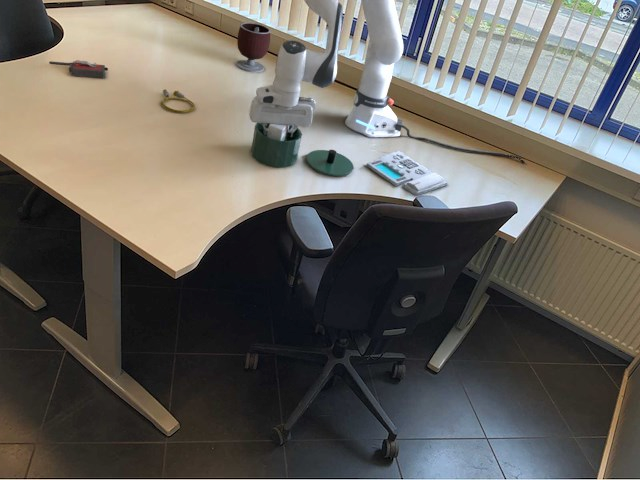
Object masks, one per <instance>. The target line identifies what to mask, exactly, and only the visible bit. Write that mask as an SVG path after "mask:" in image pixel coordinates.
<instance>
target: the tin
mask: <svg viewBox="0 0 640 480" xmlns="http://www.w3.org/2000/svg"><path fill="white" fill-rule="evenodd" d="M269 125H270V124H269V123H267V126H265V127H266V128H268V127H269ZM292 127H293V126H292V125H289V129H288V130H290V129H291V128H292ZM263 132H264V128H263V125H262V123H257V122H256V123H255V125H254V129H253V136H252V142H251V147H250V148H251V149H250V153H251V156H252V158H253V159H254V160H255V161H257V162H258V163H259V164H262V165H264V166H266V167H271V168H277V169H283V168H285V169H286V168H289V167H290V168H291V167H292V166H293V165H295V164H296V163H297V159H298V156H299V152H300V151H299V150H300V147H301V142H302V136H303V133H302V131H301V129H300V128H297V129H296V131H295V132H294V133H293V136H292V137H288V136H287V140H286V141H282V140H276V139H272V138H269V137H267V135H264V133H263Z"/></svg>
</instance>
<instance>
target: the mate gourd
mask: <svg viewBox="0 0 640 480" xmlns="http://www.w3.org/2000/svg"><path fill="white" fill-rule="evenodd" d="M236 44H237V50H238V52H239V53H240V55H242V56H243V57H245V58H246V59H240V60H239V59H238V60H237V61H236V63H235V65H236V67H237V68H238V69H240V70H243V71H245V72H249V73H250V72H251V73H261V72H263V71H264V69H265V67H264V65H263V64H261V63H259V62H257V61H255V60H260V59H261V60H262V59H263V58H264V57H265V56H266V55H267V53H268V52H269V48H270V44H271V29H270V28H269V27H267V26H266V25H263V24H260V23H256V22H242V23H240V26H239V29H238V33H237V43H236Z"/></svg>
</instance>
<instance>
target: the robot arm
mask: <svg viewBox="0 0 640 480" xmlns="http://www.w3.org/2000/svg"><path fill="white" fill-rule="evenodd" d="M303 1H304V3H305V4H306V5H307V7H308V8H309V9H310V10H311V11H312V12H313V13H315V14H316V15H317V16H319V17H320V18H321V19H322V20H323V21H324V22H325V23H326V25H327V29H328V30H327V34H326V35H327V36H326V43H325V49H324V52H320V51H319V52H318V51H315V50H312V49H309V48H307V47H306V45H305V44H304V43H303V42H301V41H299V40H298V41H297V40H290V39H289V40H286V41H284V42H282V44H281V46H280V48H279V51H278V54H277V56H276V61H275V67H274V78H273V81H272V84H270V85H266V86H260V87H258V88H256V90H255V95H256V96H254V97H253V98H252V100H251V103H250V107H249V112H248V118H249V120H250V121H251V122H252V123H256V124H257V123H262V125H263V128H264V132H263V133H264V135H267V133H268V128H266V127H265V126H267V123H269V124H282V125H292V126H293V127H292V128H291V129H290V130H288V131H287V132H288V133H287V136H288V137H292V136H293V133H294V132H295V131H296V129H297V128H298V127H305V128H306V127H307V128H309V127H310V126H311V125H312V123H313V115H314V113H313V112H314V110H315V109H316V108H315V107H316V101H315V100H314V99H313V98H312V97H303V96H302V97H301V90H302V82H306V83H309V84H311V85H313V86H315V87H318V88H321V89H325V88H327V87H329V86H331V85H333V84H334V82H335V80H336V79H337V74H338V56H339V49H340V42H341V34H342V26H343V13H344V12H343V5H342V4H341V3H340V2H339V0H303ZM360 1H361V7H362V10H363V14H364V15H363V16H364V19H365V24H366V28H367V33H368V37H369V38H368V44H367V48H366V53H365V59H364V64H363V69H362V73H361V76H360V81H359V85H358V87H357V88H356V91H355V94H354V98H353V104H352V107H351V109H350V111H349V113H348V116H347V118H346V119H345V121H344V123H345V125H346V126H347V127H348V129H351V130H353V131H354V132H356V133H360V134H362V135H364V136H366V137H368V138H392V137H400V136H401V131H402V128H403V129H404V130H405V131H406V135H407V136H408V137H409V138H411V139H415V140H417V141H425V142H429V143H432V144H435V145H439V146H442V147H445V148H450V149H454V150H458V151H464V152H469V153H470V152H471V153H478V154H487V155H494V156H502V157H506V158H507V157H508V158H513V159H518V158H519V159H518V160H519V161H520V162H521V163H522V164H526V161H525V160H524V159H523V158H522V157H521V156H518V155H514V154H508V153H505V152H504V153H503V152H496V151H489V150H479V149H471V148H466V147H460V146H454V145H450V144H447V143H443V142H440V141H437V140H433V139H430V138H427V137H420V136H414V135H411V133H410V129H409V128H408V127H407V126H406V125H404V124H403V120H402V119H399V118H398V117H397V115H396V114H395V112H394V111H393V109H392V108H391V107H390V106H393V105H394V103H395V101H394V100H393V99H392V98H390V96H389V95H387V94H388V91H389V89H390V84H391V81H392V77H393V70H394V67H395V64H396V63H398V62H399V61H400V59H401V58H402V55H403V53H404V41H403V36H402V31H401V30H402V29H401V27H400V21H399V16H398V11H397V8H396V1H395V0H360ZM298 129H299V128H298ZM505 154H507V155H505ZM509 155H510V156H509ZM512 156H513V157H512ZM515 157H516V158H515ZM520 159H523V160H524V161H523V160H520Z"/></svg>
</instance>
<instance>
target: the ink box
mask: <svg viewBox="0 0 640 480" xmlns="http://www.w3.org/2000/svg"><path fill="white" fill-rule="evenodd" d="M288 129H289V125H282V124H270V125H269V127H268V133H267V137H269V138H272V139H276V140H282V141H286V140H287V133H288V132H287V131H288Z"/></svg>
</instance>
